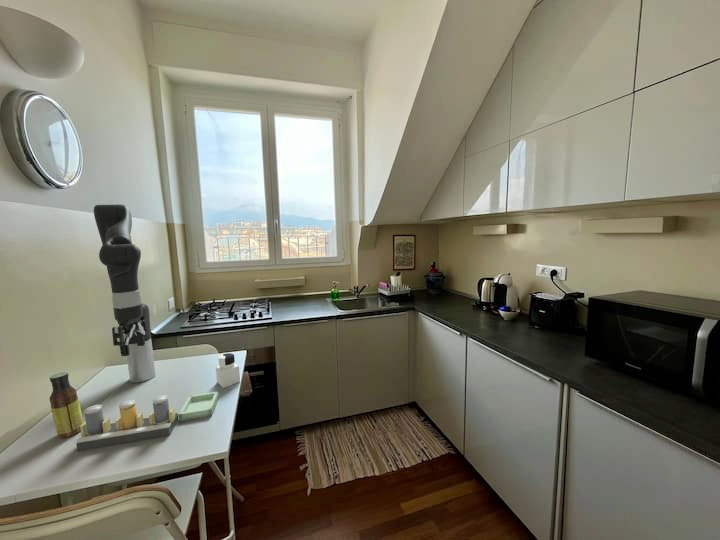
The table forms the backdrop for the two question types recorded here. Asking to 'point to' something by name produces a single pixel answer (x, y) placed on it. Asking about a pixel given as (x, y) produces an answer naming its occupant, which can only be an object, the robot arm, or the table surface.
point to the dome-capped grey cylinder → (94, 420)
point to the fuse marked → (128, 414)
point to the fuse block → (126, 432)
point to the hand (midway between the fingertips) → (133, 350)
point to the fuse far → (161, 409)
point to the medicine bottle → (227, 370)
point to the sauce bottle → (65, 406)
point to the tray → (199, 406)
